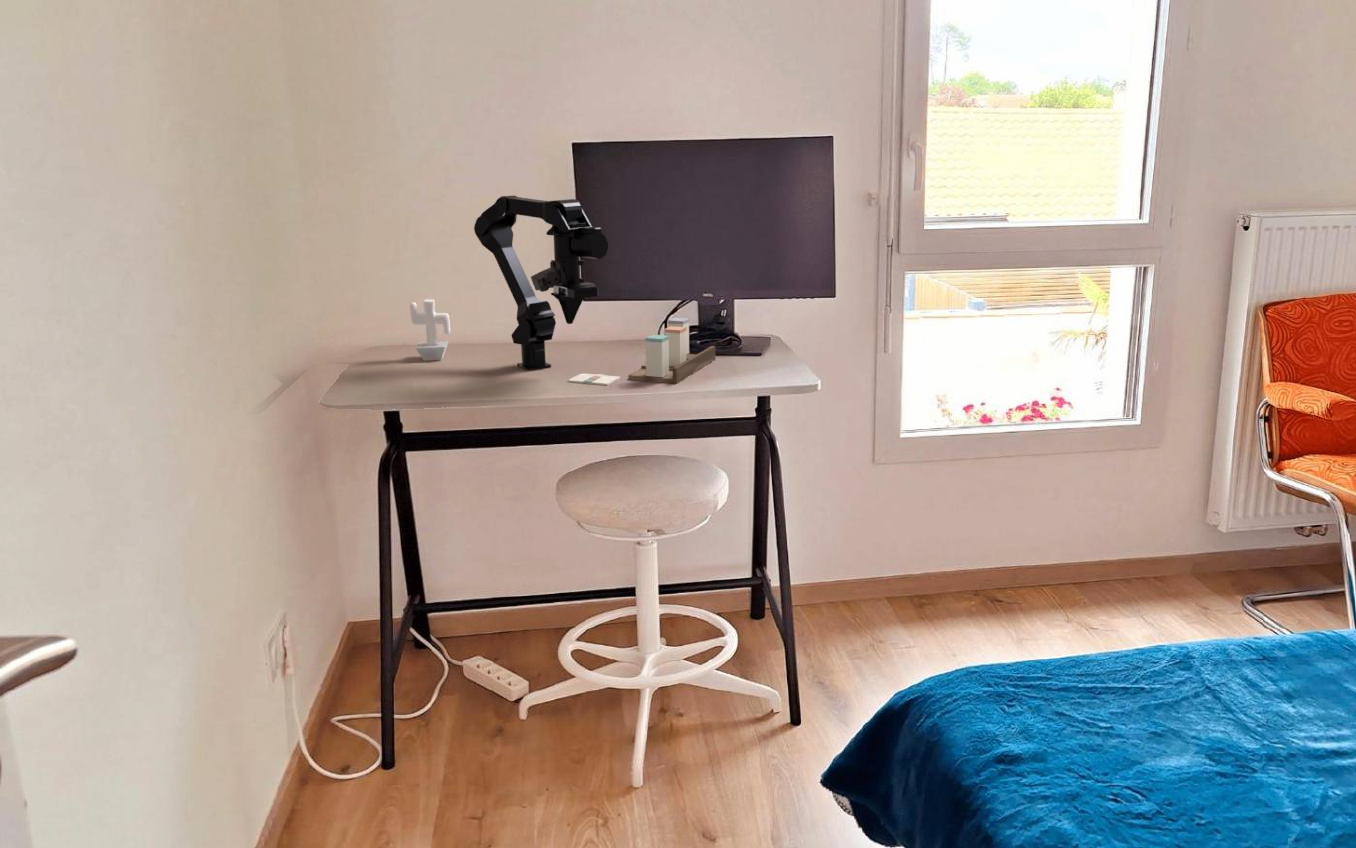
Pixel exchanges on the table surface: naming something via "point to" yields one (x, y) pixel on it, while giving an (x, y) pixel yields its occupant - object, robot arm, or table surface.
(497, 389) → the table surface
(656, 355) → the white tall block
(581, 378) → the pattern card
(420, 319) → the figurine
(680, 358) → the peach block
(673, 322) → the grey topped white block
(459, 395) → the table surface
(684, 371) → the brown divided rack
